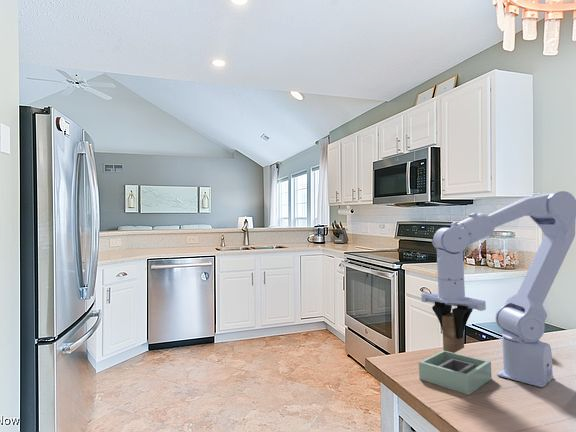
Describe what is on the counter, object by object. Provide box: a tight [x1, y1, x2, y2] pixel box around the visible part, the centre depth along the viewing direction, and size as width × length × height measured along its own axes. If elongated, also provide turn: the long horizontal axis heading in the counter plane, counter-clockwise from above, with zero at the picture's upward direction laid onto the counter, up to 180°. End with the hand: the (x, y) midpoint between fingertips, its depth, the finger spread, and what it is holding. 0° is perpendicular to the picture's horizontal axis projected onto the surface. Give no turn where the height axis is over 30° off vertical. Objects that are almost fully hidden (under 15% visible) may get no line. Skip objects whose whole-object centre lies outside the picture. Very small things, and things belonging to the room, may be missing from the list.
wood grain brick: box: [441, 311, 465, 353], centre depth 90 cm, size 2×5×8 cm, turn 130°
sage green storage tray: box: [418, 349, 493, 396], centre depth 89 cm, size 12×12×4 cm
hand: (453, 336), depth 90 cm, fingers closed on wood grain brick, 2 cm apart
